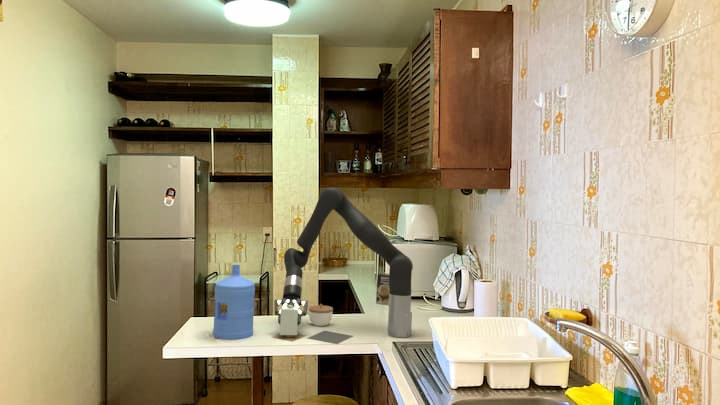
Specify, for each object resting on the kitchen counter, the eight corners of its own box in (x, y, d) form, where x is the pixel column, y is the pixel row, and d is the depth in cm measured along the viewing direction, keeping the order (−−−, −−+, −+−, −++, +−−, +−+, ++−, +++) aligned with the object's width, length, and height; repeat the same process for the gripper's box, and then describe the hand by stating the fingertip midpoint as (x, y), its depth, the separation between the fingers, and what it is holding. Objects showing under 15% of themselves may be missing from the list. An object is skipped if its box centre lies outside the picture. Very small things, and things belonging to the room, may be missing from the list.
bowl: (295, 336, 198) (295, 329, 198) (290, 338, 195) (290, 331, 195) (287, 334, 200) (288, 327, 200) (282, 336, 197) (282, 329, 197)
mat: (353, 336, 202) (353, 335, 202) (337, 345, 190) (337, 344, 190) (324, 331, 209) (324, 330, 209) (306, 339, 196) (306, 338, 196)
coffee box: (375, 303, 271) (376, 274, 271) (378, 301, 277) (379, 272, 277) (391, 305, 268) (393, 275, 268) (394, 303, 274) (395, 274, 274)
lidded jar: (310, 328, 212) (311, 307, 212) (306, 322, 223) (307, 301, 223) (334, 328, 215) (335, 306, 215) (329, 322, 225) (330, 301, 225)
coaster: (306, 336, 200) (306, 335, 200) (292, 342, 191) (292, 341, 191) (285, 332, 204) (285, 331, 204) (271, 338, 195) (271, 337, 195)
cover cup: (281, 330, 201) (282, 303, 201) (297, 330, 201) (299, 303, 201) (279, 334, 194) (281, 306, 194) (296, 335, 194) (297, 307, 194)
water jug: (252, 329, 207) (255, 262, 207) (253, 340, 192) (256, 268, 192) (213, 330, 203) (216, 262, 203) (211, 341, 188) (214, 267, 188)
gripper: (275, 283, 204) (270, 318, 193) (309, 284, 205) (307, 319, 194) (276, 293, 210) (271, 328, 198) (309, 294, 211) (307, 329, 199)
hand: (289, 323), depth 196 cm, fingers closed on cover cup, 6 cm apart
